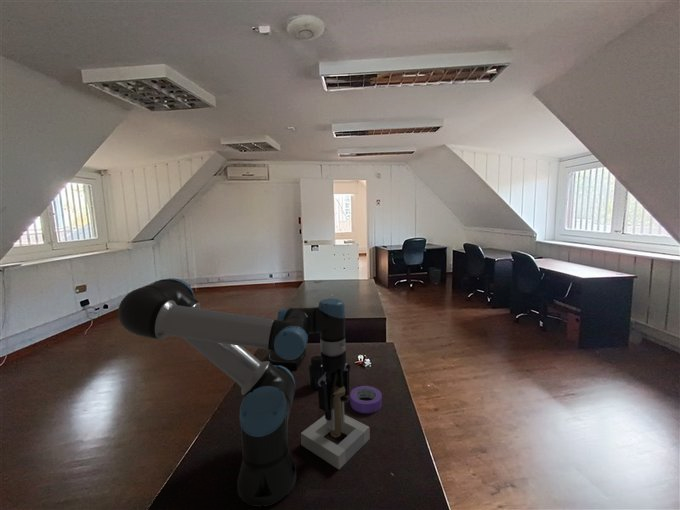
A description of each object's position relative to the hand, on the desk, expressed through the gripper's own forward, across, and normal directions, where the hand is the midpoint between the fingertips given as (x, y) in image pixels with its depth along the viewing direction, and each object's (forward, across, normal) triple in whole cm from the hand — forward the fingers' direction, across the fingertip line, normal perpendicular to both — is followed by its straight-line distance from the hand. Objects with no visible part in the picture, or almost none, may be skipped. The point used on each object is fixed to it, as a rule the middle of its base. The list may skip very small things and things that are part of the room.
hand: (335, 423), depth 94 cm
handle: (+4, 0, 0) cm, 4 cm away
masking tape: (+7, +22, +4) cm, 23 cm away
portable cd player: (+7, +26, +55) cm, 61 cm away
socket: (+6, 0, 0) cm, 6 cm away
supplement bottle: (+6, +20, +27) cm, 34 cm away
